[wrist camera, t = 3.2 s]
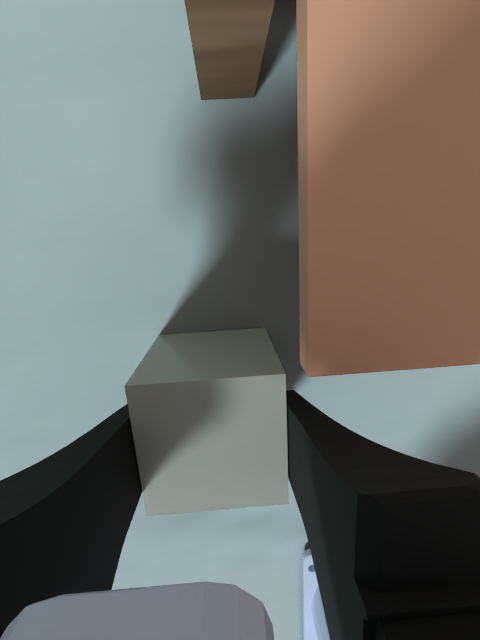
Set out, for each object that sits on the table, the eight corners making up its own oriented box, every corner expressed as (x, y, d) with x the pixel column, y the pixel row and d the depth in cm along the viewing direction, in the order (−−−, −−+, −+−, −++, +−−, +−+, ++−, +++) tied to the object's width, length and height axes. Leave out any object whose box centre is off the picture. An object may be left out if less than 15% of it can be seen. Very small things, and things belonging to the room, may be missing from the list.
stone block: (268, 420, 15) (288, 503, 11) (171, 428, 15) (146, 516, 10) (265, 327, 14) (285, 373, 9) (159, 334, 14) (124, 385, 9)
